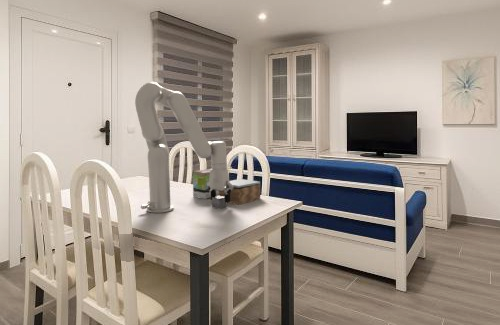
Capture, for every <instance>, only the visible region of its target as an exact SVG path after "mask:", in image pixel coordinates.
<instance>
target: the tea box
mask: <svg viewBox="0 0 500 325" xmlns="http://www.w3.org/2000/svg"><path fill="white" fill-rule="evenodd" d="M211 169H212V168H205V169H201V170H199V169H198V170H194V171H193V172H192V173H193V174H192V175H193V176H192V196H193V198H198V199H201V200H202V199H203V200H206V199H209V198H210V199H211V192H210V191H209V188H208V185H207V182H209V178H210V170H211ZM215 191H216V196H219V190H215Z"/></svg>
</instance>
